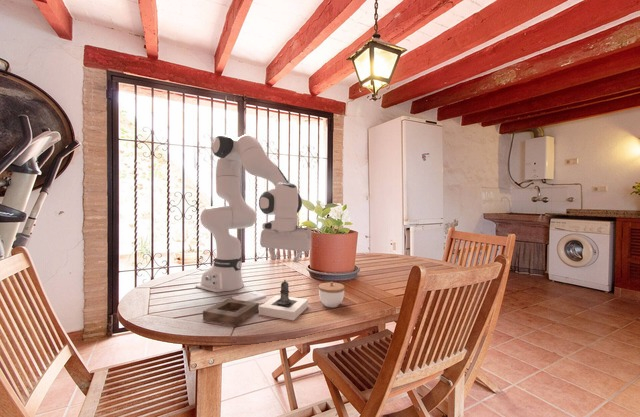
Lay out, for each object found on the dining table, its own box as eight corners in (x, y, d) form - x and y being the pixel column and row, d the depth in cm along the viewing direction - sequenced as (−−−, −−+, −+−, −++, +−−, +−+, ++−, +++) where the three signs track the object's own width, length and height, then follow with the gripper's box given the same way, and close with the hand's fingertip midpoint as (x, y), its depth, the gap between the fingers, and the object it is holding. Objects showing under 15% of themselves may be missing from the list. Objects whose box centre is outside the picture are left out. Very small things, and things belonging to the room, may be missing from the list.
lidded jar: (347, 302, 122) (348, 280, 122) (339, 311, 112) (340, 287, 112) (323, 298, 126) (324, 277, 126) (314, 306, 116) (314, 283, 116)
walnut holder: (202, 319, 102) (203, 310, 102) (227, 305, 115) (227, 298, 115) (236, 325, 97) (237, 316, 97) (258, 310, 111) (258, 303, 111)
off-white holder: (259, 314, 107) (259, 306, 107) (276, 302, 121) (276, 295, 120) (293, 320, 103) (293, 312, 103) (307, 306, 116) (308, 299, 116)
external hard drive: (230, 301, 122) (254, 294, 132) (241, 305, 117) (266, 298, 127) (230, 297, 122) (254, 290, 132) (241, 302, 117) (266, 294, 127)
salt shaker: (295, 310, 112) (295, 279, 112) (283, 314, 108) (284, 282, 107) (285, 306, 116) (285, 276, 116) (273, 310, 112) (274, 279, 111)
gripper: (314, 226, 110) (313, 262, 111) (266, 222, 117) (265, 256, 117) (308, 227, 104) (307, 265, 105) (258, 224, 111) (257, 259, 111)
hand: (284, 260), depth 111 cm, fingers open, 8 cm apart
